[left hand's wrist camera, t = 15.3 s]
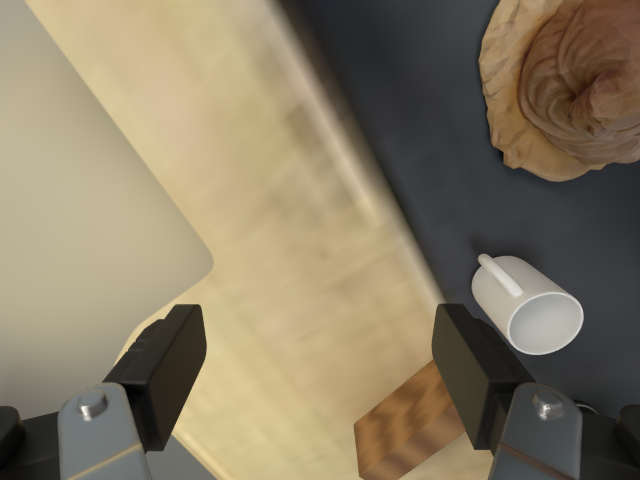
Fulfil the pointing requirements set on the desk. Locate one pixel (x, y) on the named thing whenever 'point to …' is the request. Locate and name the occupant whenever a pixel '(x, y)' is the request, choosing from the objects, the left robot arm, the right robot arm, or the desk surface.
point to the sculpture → (563, 84)
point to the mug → (526, 305)
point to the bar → (407, 427)
